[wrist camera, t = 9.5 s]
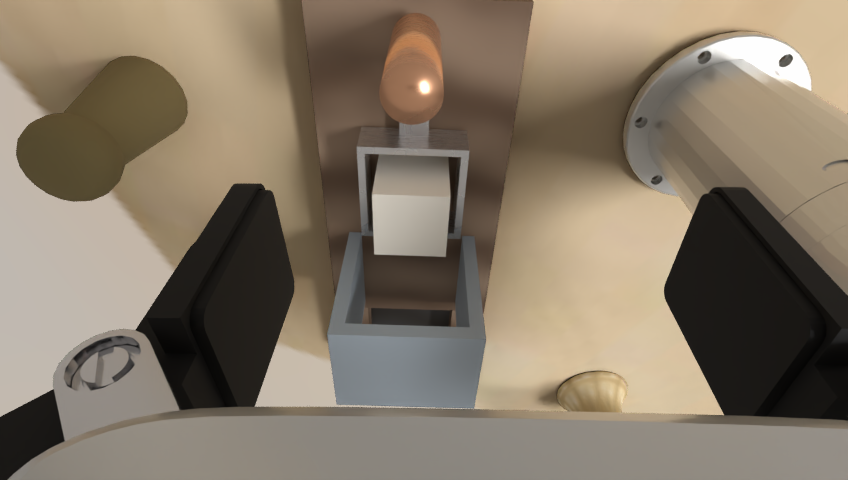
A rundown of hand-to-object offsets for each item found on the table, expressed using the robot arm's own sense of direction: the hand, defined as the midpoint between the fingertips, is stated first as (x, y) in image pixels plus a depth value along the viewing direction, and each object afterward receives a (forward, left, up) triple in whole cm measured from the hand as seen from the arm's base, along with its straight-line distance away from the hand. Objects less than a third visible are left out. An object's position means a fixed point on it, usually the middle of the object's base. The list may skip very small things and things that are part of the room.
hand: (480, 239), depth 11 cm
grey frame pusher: (+2, +8, -23) cm, 24 cm away
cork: (+22, +8, -26) cm, 35 cm away
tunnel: (+2, +22, -23) cm, 32 cm away
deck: (+2, +17, -26) cm, 31 cm away
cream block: (+2, +13, -23) cm, 26 cm away
